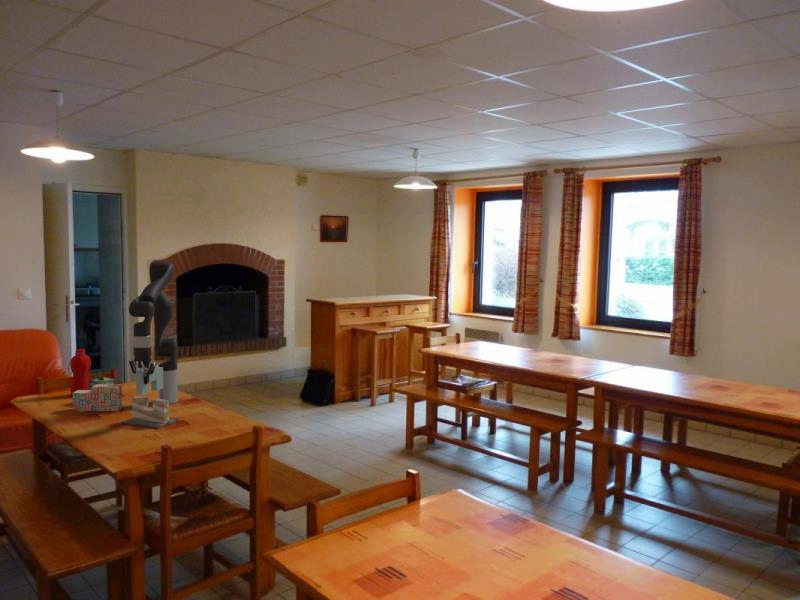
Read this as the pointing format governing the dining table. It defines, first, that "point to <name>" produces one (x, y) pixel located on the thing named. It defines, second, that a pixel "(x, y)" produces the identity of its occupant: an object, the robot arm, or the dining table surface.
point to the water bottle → (80, 371)
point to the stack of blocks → (98, 398)
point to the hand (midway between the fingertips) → (143, 383)
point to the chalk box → (100, 381)
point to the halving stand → (150, 413)
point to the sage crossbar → (154, 378)
